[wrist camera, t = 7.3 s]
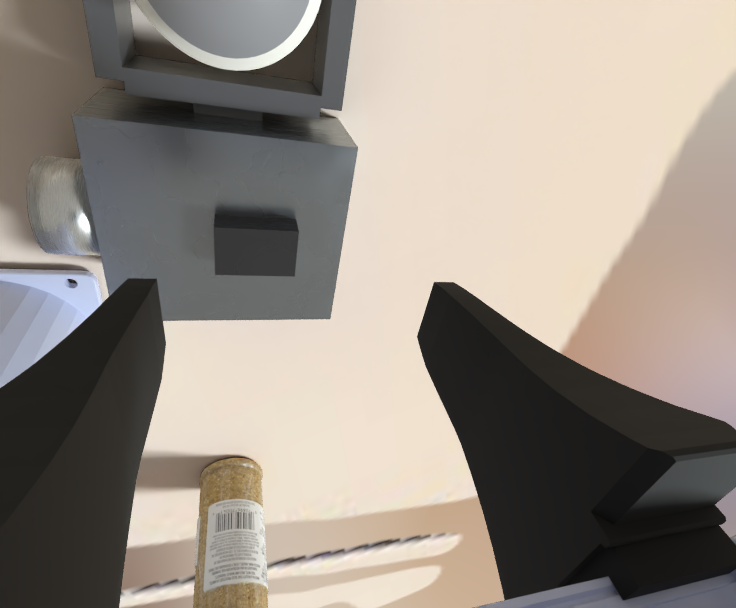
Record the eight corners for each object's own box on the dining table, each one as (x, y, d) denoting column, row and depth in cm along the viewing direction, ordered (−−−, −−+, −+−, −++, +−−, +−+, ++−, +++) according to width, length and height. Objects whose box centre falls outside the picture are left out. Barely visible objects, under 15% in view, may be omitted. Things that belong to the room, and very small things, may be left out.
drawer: (84, 267, 20) (48, 338, 16) (40, 79, 15) (-25, 115, 12) (317, 272, 23) (334, 332, 19) (337, 118, 19) (364, 156, 15)
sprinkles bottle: (189, 485, 32) (167, 731, 22) (216, 449, 30) (205, 698, 20) (246, 493, 34) (250, 718, 24) (274, 460, 32) (292, 687, 22)
